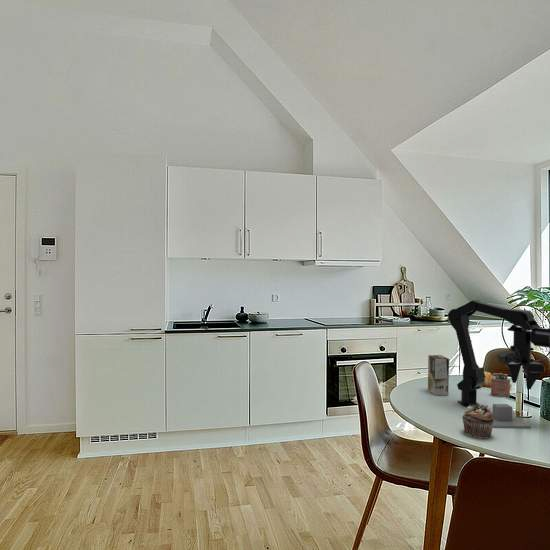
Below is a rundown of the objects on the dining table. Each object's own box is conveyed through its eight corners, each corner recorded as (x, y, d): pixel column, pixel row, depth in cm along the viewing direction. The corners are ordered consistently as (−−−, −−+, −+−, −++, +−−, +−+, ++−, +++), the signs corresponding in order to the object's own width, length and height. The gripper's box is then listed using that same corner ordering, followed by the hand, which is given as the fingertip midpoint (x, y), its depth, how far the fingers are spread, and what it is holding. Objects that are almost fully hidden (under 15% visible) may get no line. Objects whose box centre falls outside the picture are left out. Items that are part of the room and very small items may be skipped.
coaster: (476, 415, 162) (476, 413, 162) (510, 415, 162) (510, 413, 162) (493, 427, 149) (494, 425, 149) (531, 428, 149) (531, 425, 149)
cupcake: (497, 433, 144) (497, 403, 144) (488, 441, 137) (489, 410, 137) (467, 426, 150) (467, 397, 150) (457, 433, 143) (458, 403, 143)
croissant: (512, 395, 203) (514, 379, 205) (509, 389, 195) (511, 372, 198) (465, 386, 216) (467, 371, 218) (460, 380, 209) (463, 364, 211)
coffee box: (449, 395, 188) (449, 358, 188) (434, 395, 188) (434, 358, 188) (441, 389, 197) (442, 354, 197) (427, 389, 197) (427, 354, 197)
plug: (492, 417, 158) (492, 403, 157) (511, 417, 158) (511, 404, 158) (497, 420, 154) (497, 407, 154) (517, 421, 154) (517, 407, 154)
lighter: (508, 395, 190) (508, 372, 190) (511, 397, 187) (512, 374, 187) (489, 394, 191) (489, 372, 191) (492, 396, 188) (492, 373, 188)
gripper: (487, 339, 169) (487, 379, 169) (514, 348, 150) (513, 392, 150) (515, 340, 169) (515, 379, 169) (546, 348, 150) (545, 393, 150)
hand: (521, 385), depth 160 cm, fingers open, 9 cm apart
